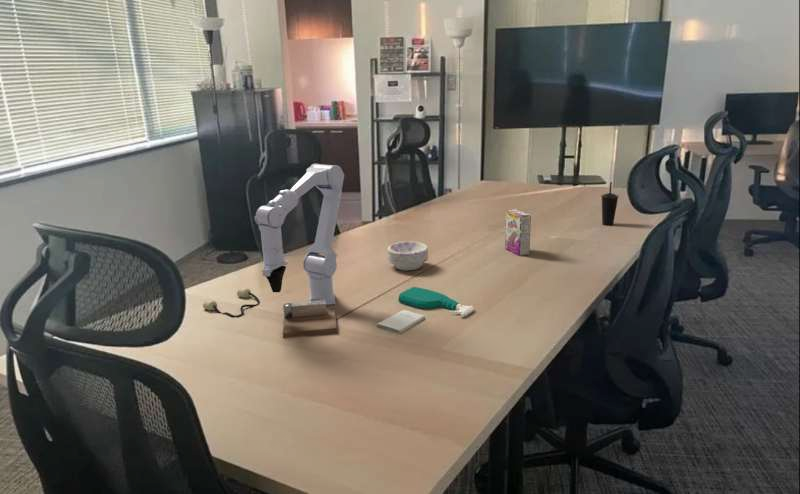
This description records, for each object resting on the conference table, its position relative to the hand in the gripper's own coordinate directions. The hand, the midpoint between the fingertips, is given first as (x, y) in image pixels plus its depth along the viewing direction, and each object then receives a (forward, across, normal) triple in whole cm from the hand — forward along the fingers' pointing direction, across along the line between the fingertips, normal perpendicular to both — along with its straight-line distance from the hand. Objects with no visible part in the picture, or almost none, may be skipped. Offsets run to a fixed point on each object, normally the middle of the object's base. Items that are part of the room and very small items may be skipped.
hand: (276, 291), depth 165 cm
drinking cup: (+10, +116, -122) cm, 168 cm away
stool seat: (+9, -2, -10) cm, 14 cm away
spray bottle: (+10, +14, -46) cm, 49 cm away
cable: (+10, +12, +18) cm, 23 cm away
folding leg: (+8, +1, -8) cm, 11 cm away
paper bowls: (+10, +52, -34) cm, 62 cm away
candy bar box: (+10, +71, -76) cm, 105 cm away
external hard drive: (+10, 0, -36) cm, 38 cm away
